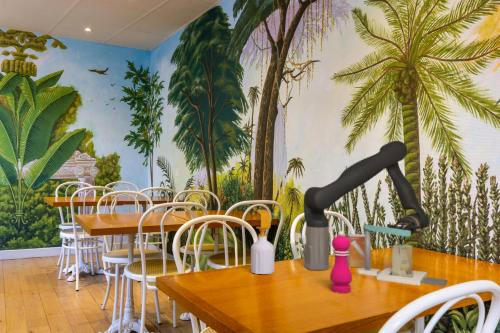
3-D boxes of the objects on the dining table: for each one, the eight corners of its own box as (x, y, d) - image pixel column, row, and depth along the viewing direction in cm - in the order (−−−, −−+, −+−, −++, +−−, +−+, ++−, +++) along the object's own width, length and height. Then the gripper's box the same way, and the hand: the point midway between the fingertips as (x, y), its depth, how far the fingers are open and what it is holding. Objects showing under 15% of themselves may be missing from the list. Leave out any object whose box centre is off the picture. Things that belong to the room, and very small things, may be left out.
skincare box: (400, 280, 156) (400, 247, 156) (391, 277, 160) (391, 245, 160) (413, 278, 159) (413, 245, 159) (403, 275, 163) (403, 243, 163)
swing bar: (361, 229, 167) (361, 224, 167) (367, 228, 169) (367, 224, 169) (405, 236, 149) (405, 231, 149) (411, 235, 151) (411, 230, 151)
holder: (353, 276, 162) (353, 232, 162) (365, 268, 174) (365, 227, 174) (419, 285, 149) (419, 237, 149) (427, 276, 162) (427, 232, 162)
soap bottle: (267, 268, 174) (267, 208, 174) (278, 273, 166) (278, 210, 166) (247, 271, 170) (247, 209, 170) (257, 276, 162) (257, 211, 162)
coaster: (423, 283, 152) (423, 281, 152) (426, 278, 158) (426, 277, 158) (444, 285, 149) (444, 284, 149) (447, 281, 155) (447, 279, 155)
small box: (349, 267, 176) (349, 236, 176) (347, 264, 183) (347, 233, 183) (369, 267, 176) (369, 236, 176) (366, 264, 182) (366, 233, 182)
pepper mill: (354, 289, 145) (354, 230, 145) (349, 295, 138) (349, 233, 138) (333, 286, 148) (333, 229, 148) (327, 292, 141) (327, 231, 141)
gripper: (390, 215, 174) (379, 220, 159) (425, 217, 167) (417, 222, 152) (390, 233, 174) (379, 240, 159) (425, 236, 167) (417, 243, 152)
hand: (398, 231), depth 156 cm, fingers closed
